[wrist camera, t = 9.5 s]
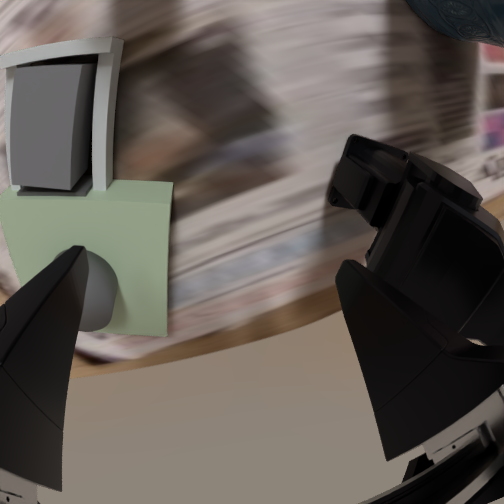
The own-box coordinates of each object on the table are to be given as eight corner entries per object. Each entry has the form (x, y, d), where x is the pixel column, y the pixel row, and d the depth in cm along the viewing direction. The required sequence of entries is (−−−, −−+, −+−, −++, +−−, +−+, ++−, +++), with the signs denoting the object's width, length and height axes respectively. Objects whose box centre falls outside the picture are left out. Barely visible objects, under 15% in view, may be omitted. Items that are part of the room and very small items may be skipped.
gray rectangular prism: (102, 63, 14) (81, 65, 11) (88, 167, 18) (70, 190, 15) (43, 64, 13) (15, 68, 9) (35, 163, 17) (11, 184, 14)
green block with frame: (194, 42, 15) (193, 31, 10) (167, 309, 29) (167, 363, 24) (14, 54, 11) (-39, 64, 6) (46, 300, 25) (30, 348, 20)
